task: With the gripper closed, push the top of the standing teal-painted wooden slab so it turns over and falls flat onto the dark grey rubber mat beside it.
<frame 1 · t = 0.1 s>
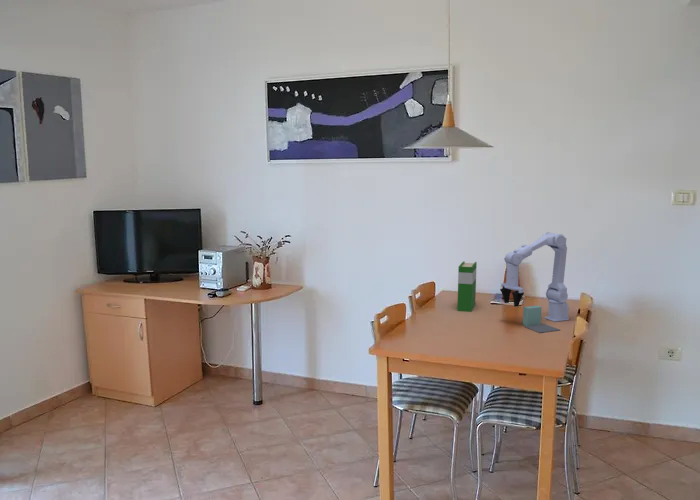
hand: (511, 304, 296), 10 cm above the table, fingers open, 7 cm apart
mat: (542, 328, 290), on the table
hardback book: (466, 308, 331), on the table
slab: (531, 324, 297), on the table
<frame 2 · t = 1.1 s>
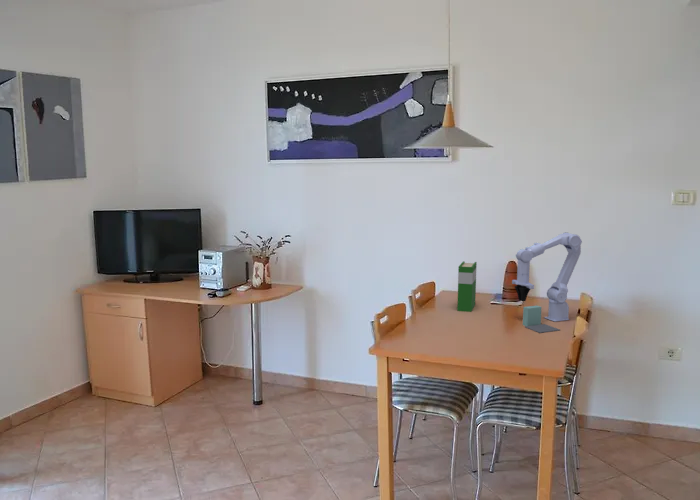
hand: (522, 300, 302), 10 cm above the table, fingers closed
nothing on the table moved.
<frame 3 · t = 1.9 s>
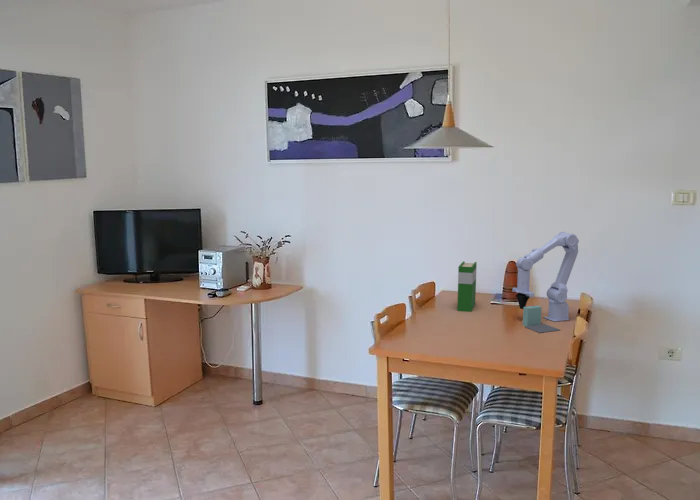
hand: (522, 308, 303), 6 cm above the table, fingers closed
nothing on the table moved.
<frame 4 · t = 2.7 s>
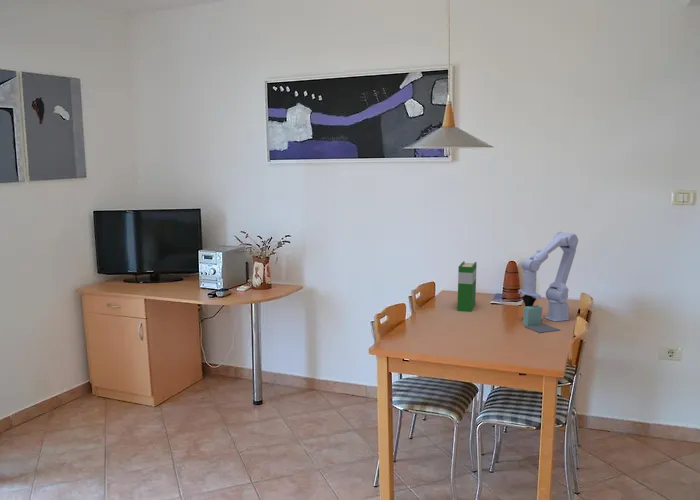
hand: (528, 310, 298), 6 cm above the table, fingers closed
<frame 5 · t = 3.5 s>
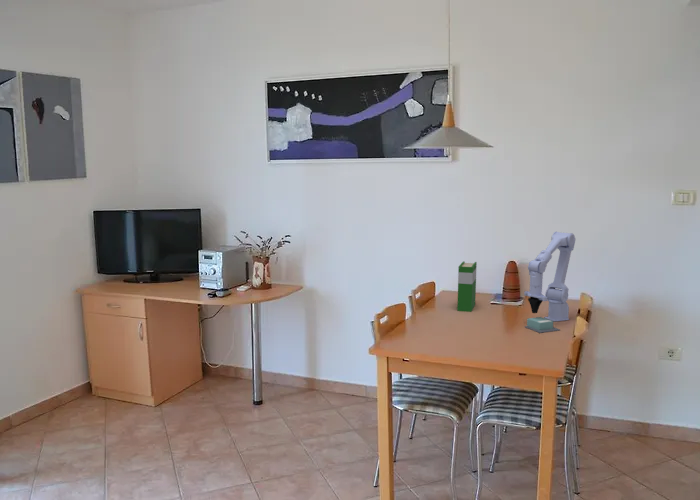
hand: (534, 312, 294), 6 cm above the table, fingers closed
slab: (533, 321, 295), point 2 cm above the table, tilted 90°, touching mat
everything else where it was.
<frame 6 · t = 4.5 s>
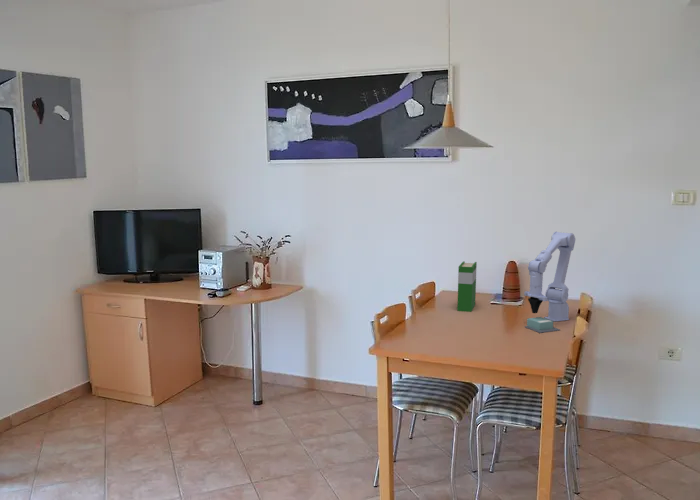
hand: (534, 312, 294), 6 cm above the table, fingers closed
nothing on the table moved.
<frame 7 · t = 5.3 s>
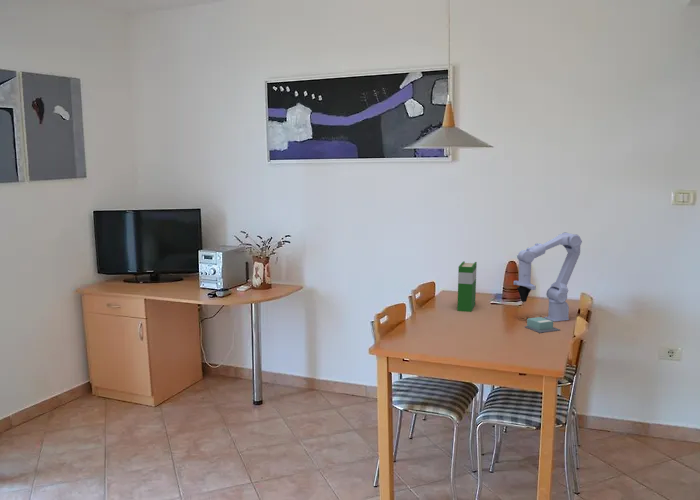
hand: (523, 301, 301), 10 cm above the table, fingers closed
nothing on the table moved.
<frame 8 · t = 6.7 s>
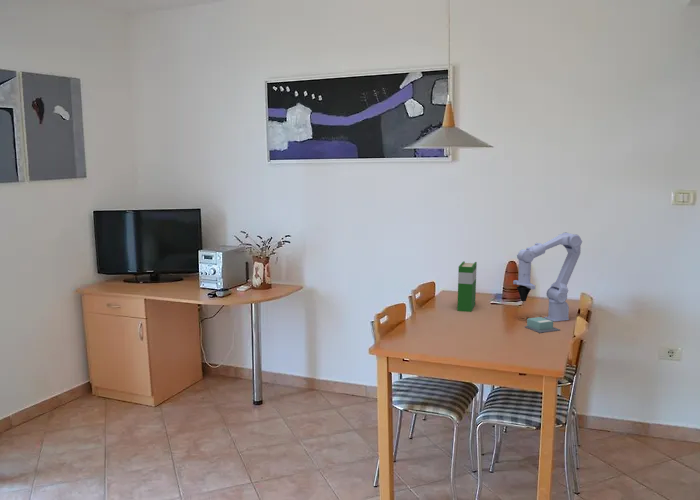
hand: (523, 300, 301), 10 cm above the table, fingers closed
nothing on the table moved.
at the end: slab tilted 90°; slab inside the target area (3.1 cm from its centre), point 2.1 cm above the table; the gripper is holding nothing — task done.
